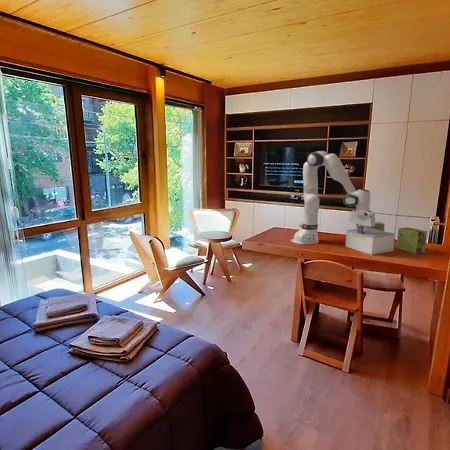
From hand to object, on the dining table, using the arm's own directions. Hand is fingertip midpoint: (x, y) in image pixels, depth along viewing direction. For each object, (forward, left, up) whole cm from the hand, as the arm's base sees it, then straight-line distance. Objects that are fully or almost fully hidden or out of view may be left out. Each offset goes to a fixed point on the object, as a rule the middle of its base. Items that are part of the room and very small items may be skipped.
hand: (360, 230), depth 234 cm
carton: (+10, 0, -15) cm, 17 cm away
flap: (+10, 0, -2) cm, 10 cm away
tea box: (+34, +18, -15) cm, 41 cm away
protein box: (+34, -16, -15) cm, 40 cm away
